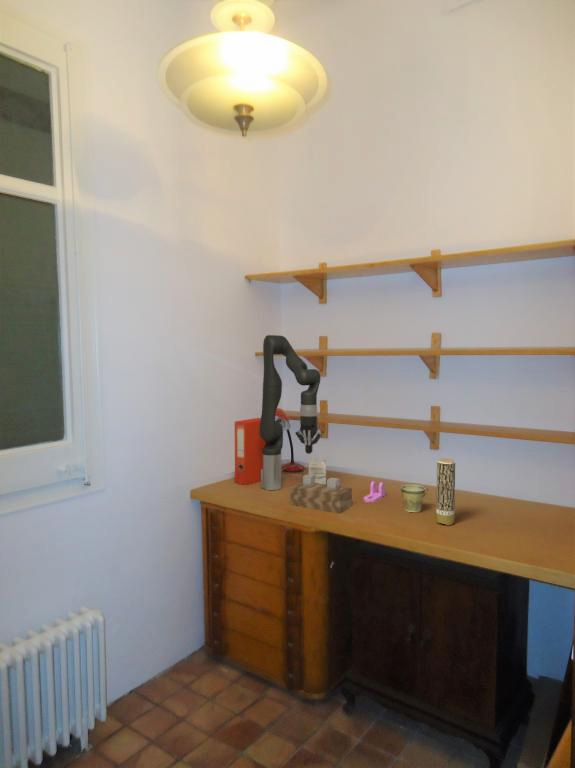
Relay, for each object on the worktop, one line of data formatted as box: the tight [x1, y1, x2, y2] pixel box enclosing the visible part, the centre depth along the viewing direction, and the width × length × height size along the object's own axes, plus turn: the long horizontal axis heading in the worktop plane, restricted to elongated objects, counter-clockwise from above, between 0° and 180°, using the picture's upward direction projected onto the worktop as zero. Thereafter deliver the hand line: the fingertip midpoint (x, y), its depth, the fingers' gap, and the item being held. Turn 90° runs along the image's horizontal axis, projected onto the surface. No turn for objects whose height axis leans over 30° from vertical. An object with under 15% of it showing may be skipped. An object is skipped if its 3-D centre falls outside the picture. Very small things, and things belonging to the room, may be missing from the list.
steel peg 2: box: [326, 477, 341, 491], centre depth 227 cm, size 4×4×7 cm
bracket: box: [363, 480, 386, 503], centre depth 240 cm, size 13×6×7 cm, turn 145°
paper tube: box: [435, 458, 456, 524], centre depth 206 cm, size 7×7×25 cm
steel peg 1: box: [302, 473, 315, 488], centre depth 233 cm, size 4×4×7 cm
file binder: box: [234, 417, 266, 486], centre depth 271 cm, size 8×17×32 cm, turn 139°
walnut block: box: [290, 481, 353, 514], centre depth 230 cm, size 24×12×8 cm, turn 59°
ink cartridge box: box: [308, 457, 327, 484], centre depth 257 cm, size 9×5×15 cm, turn 84°
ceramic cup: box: [400, 484, 429, 513], centre depth 223 cm, size 13×10×10 cm
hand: (308, 453), depth 232 cm, fingers closed
